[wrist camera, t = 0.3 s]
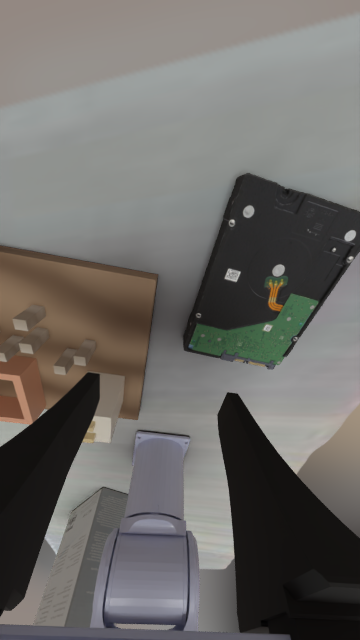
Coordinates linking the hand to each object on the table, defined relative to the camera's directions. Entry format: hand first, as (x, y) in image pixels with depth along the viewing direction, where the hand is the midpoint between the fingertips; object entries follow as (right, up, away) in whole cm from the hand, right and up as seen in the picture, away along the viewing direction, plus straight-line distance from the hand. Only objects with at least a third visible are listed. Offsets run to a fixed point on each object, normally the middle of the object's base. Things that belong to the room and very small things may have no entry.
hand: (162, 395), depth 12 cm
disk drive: (+8, +8, +8) cm, 14 cm away
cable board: (-13, +2, +10) cm, 16 cm away
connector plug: (-7, -3, +12) cm, 14 cm away
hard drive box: (-15, -35, +32) cm, 49 cm away
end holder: (-18, -2, +11) cm, 22 cm away
